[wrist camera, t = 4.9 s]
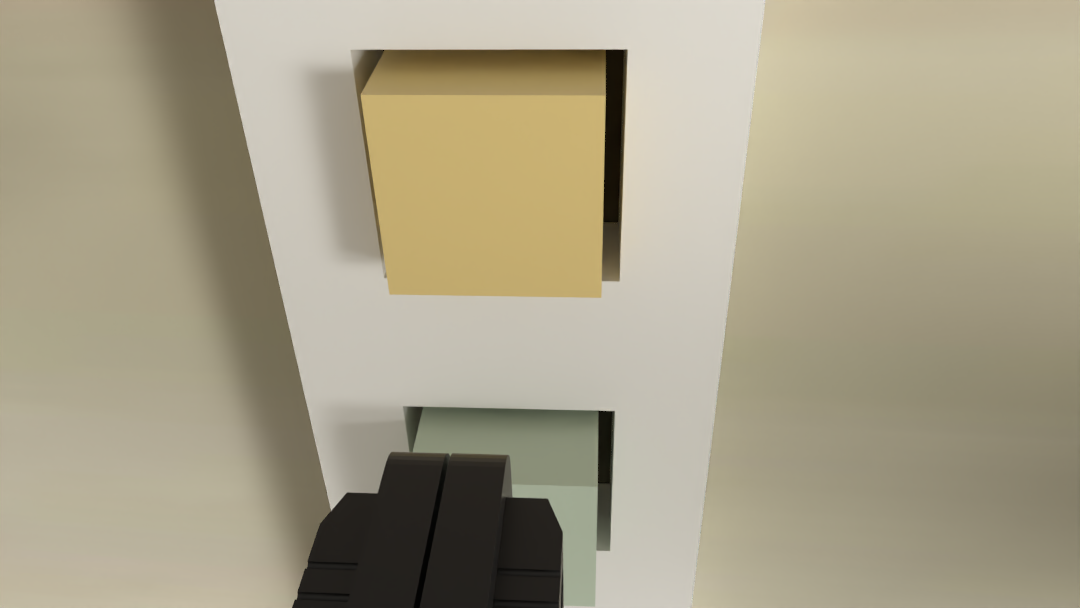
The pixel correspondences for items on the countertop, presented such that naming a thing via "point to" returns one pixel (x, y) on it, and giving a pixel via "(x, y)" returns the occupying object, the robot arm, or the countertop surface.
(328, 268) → the button panel
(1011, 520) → the countertop surface
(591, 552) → the sage button
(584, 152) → the ochre button
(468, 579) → the robot arm
